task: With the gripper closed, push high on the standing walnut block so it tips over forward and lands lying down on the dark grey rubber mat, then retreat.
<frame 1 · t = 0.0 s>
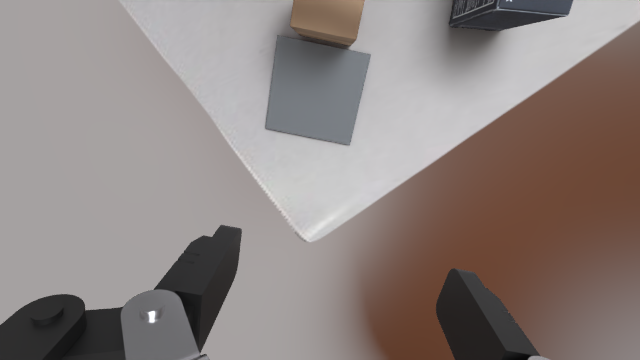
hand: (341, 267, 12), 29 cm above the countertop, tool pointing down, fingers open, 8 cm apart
walnut block: (328, 21, 35), on the countertop
mat: (315, 93, 38), on the countertop
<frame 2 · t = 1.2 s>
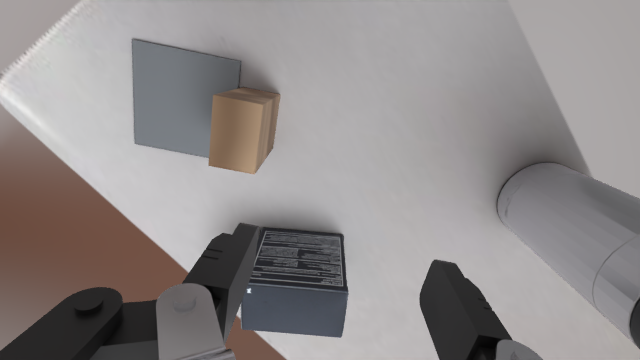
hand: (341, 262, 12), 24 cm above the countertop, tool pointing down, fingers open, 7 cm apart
small box: (301, 250, 40), on the countertop
walnut block: (258, 118, 34), on the countertop
mat: (186, 104, 33), on the countertop
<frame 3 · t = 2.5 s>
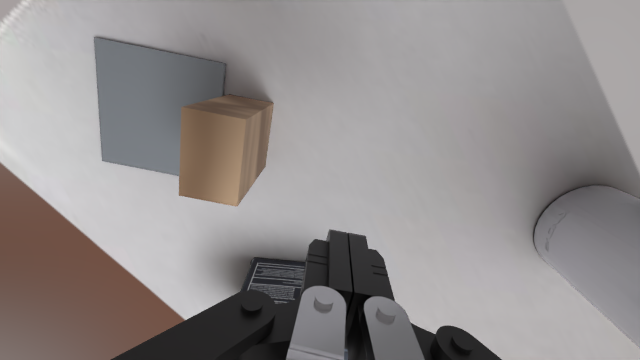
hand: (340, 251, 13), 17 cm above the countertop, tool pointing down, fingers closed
small box: (299, 283, 34), on the countertop
walnut block: (247, 131, 28), on the countertop
mat: (161, 114, 28), on the countertop
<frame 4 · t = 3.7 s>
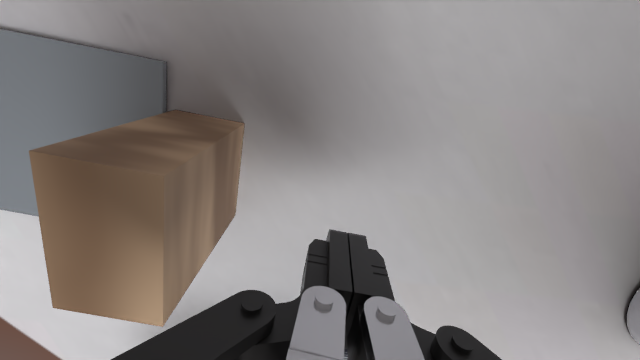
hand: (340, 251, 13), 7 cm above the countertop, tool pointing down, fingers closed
walnut block: (207, 165, 19), on the countertop
mat: (73, 140, 18), on the countertop
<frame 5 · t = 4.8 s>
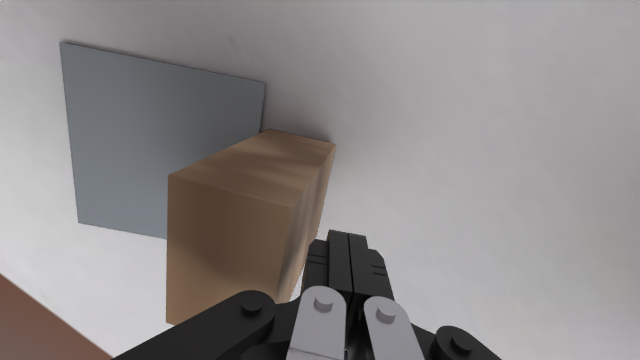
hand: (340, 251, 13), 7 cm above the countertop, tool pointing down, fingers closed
walnut block: (294, 184, 19), on the countertop, tilted 9°
mat: (165, 158, 19), on the countertop
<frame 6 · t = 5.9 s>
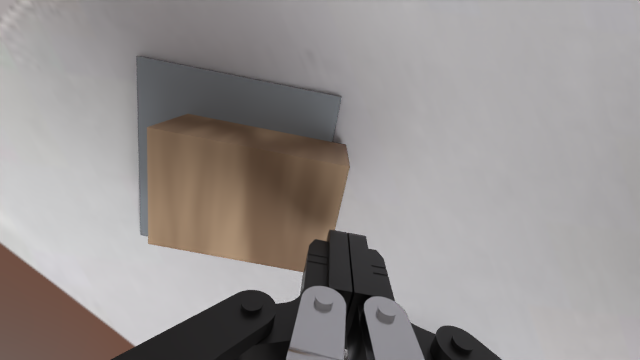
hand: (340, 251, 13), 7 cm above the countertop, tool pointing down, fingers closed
walnut block: (335, 207, 16), point 2 cm above the countertop, tilted 90°, touching mat
mat: (233, 170, 19), on the countertop
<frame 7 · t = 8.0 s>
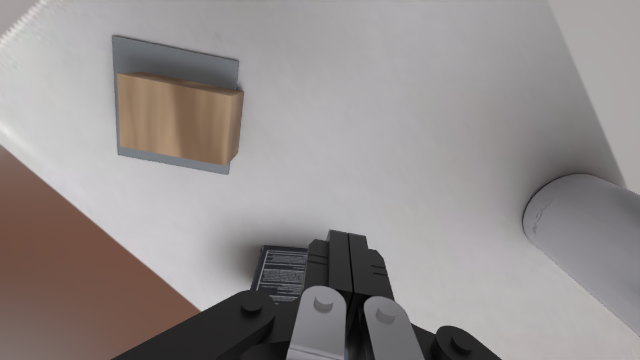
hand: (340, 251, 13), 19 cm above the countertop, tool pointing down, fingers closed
small box: (306, 270, 36), on the countertop
walnut block: (235, 127, 27), point 2 cm above the countertop, tilted 90°, touching mat
mat: (176, 110, 29), on the countertop
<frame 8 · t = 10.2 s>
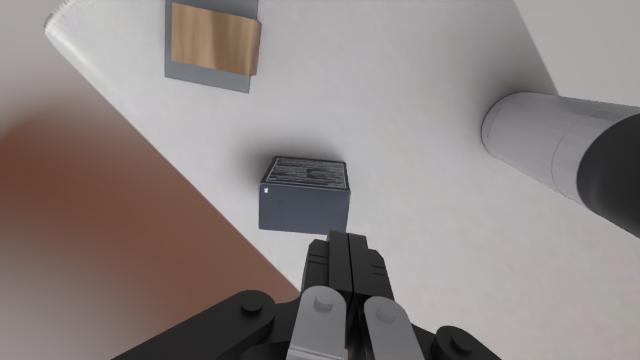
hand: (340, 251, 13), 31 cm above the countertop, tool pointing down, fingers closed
small box: (308, 179, 45), on the countertop
walnut block: (255, 49, 37), point 2 cm above the countertop, tilted 90°, touching mat
mat: (210, 40, 39), on the countertop
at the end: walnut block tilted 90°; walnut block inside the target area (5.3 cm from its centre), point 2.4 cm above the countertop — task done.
